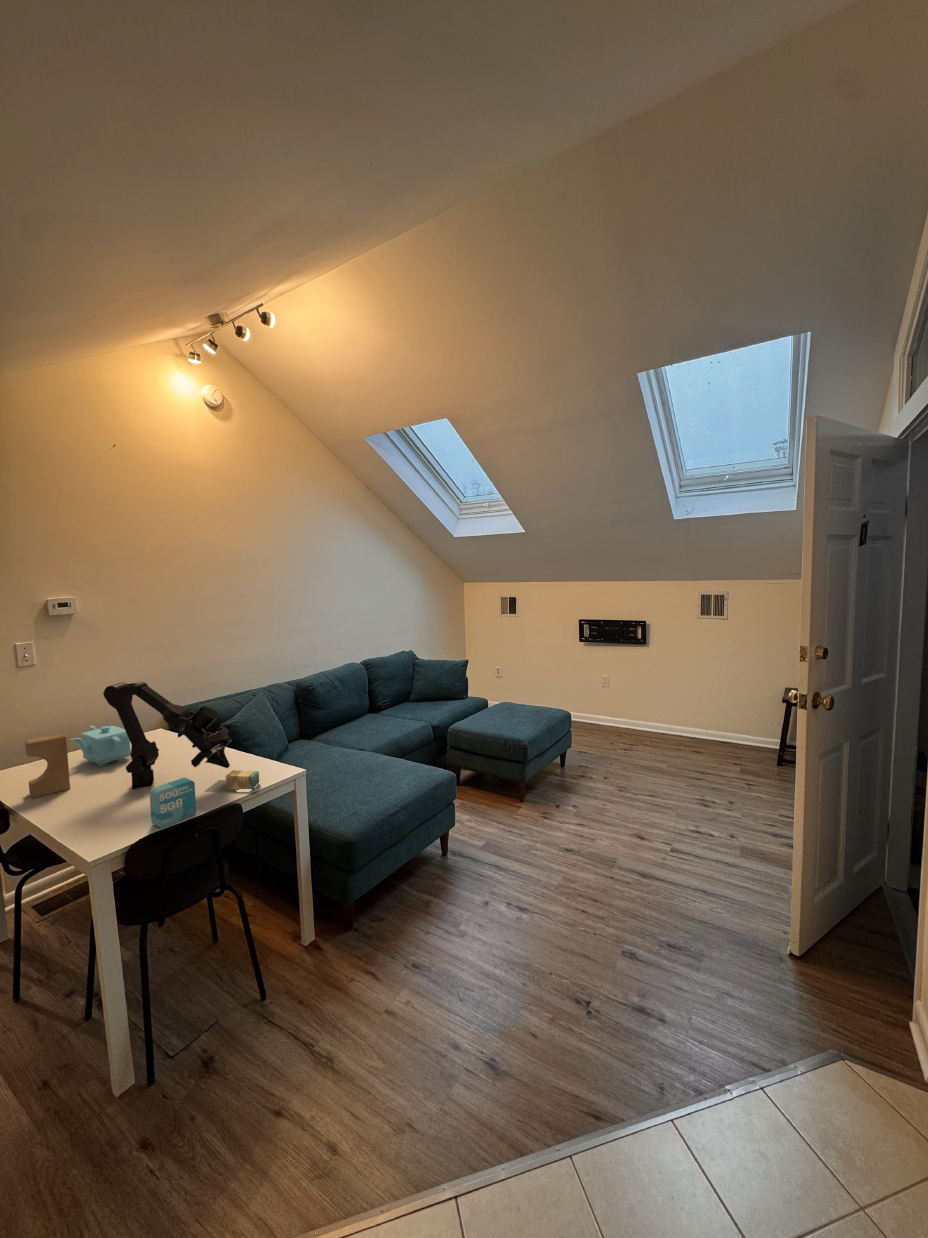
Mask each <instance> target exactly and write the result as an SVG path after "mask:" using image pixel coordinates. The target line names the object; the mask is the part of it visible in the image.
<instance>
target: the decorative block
mask: <svg viewBox="0 0 928 1238" xmlns="http://www.w3.org/2000/svg"><path fill="white" fill-rule="evenodd" d="M24 746H25V747H24V748H25V753H26V755H27V757H28V758H29V757H30V758H31V757H32V758H33V757H37V758H40V759H43V760H44V761H46V763H47V765H46V768H45V770H44V771H43V773H42V774H40V775H39V776H37V778H34V779H32V780H29V781H28V791H29V795H30V798H31V799H36V798H39V797H44V796H48V795H51V794H56V793H60V792H64V791H68V790H70V789H71V784H70V781H71V780H70V770H69V769H70V768H69V755H68V745H67V736H66V735H65V734H64V733H63V732H62V733H56V734H51V735H46V736H40V737H35V738H29V739H25V740H24Z"/></svg>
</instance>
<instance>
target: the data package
mask: <svg viewBox="0 0 928 1238" xmlns="http://www.w3.org/2000/svg"><path fill="white" fill-rule="evenodd" d="M149 804H150V805H149V806H150V819H151V823H152V824H153V825H155V826H157V827H158V828H161V829H162V828H165V827H168V826H170V825H172V824H176V823H177V822H180V821H183V820H186V819H188V818H190V817H192V816H194V815H195V814H196V812H197V801H196V784H195V782H194V781H193V780H191V779H189V778H188V777H181V778H179V779H176V780H172V781H170V782H169V781H168V782H167V783H163V784H160V785H157V786H155V787H153V788H151V790H150V791H149Z"/></svg>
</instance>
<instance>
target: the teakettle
mask: <svg viewBox="0 0 928 1238" xmlns="http://www.w3.org/2000/svg"><path fill="white" fill-rule="evenodd" d="M89 729H90V730H89V731H84V732H81V738H80V737H74V738H70V739H69V741H75V742H76V743H77V744H78V747H79V748H80V751H81V752H82V757H83V759H85V760H87V761H89V764H95V765H97V766H96V767H97V768H102V767H106V766H107V763H111V762H115V761H116V762H123V761H125V760H126V758H128V757H131V742H130V740H129V738H128V735H127V733H126V731H125V729H124V728H122V727H118V726H116V725H106V726H105V725H104V726H101V727H99V728H97V727H96V726H95V725H90V726H89Z"/></svg>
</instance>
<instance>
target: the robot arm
mask: <svg viewBox="0 0 928 1238" xmlns="http://www.w3.org/2000/svg"><path fill="white" fill-rule="evenodd" d="M102 694H103V698H104V699H105V700H106V702H107V703H108V705H109V706H111V707H112V708H114V709H115V710H116V712H117V714H118V716H119V719H120V721H121V724H122V726H123V729H125V731H126V733H127V735H128V738H129V740H130V750H131V756H130V758H131V761H130V762H129V763H128V764H127V765H126V766H125V770H126V772H127V773H128V774H129V773H130V774H131V789H133V790H134V789H140V788H145V787H149V786H150V787H151V786H153V785H154V783H153V782H154V781H155V777H154V769H153V768H152V766H153V765H155V764H156V761H157V760H158V758H159V756H160V755H159V751H160V749H159V748H158V747H157V743H156V741H155V740H154V741H150V740H148V739H147V736H146V735H145V732H144V730H143V728H142V725H141V722H140V720H139V719H138V716H137V714H136V711H135V709H134V707H133V706H134V705H132V703H133V696H136V697H138V699H141V700H142V701H143V702H145V704H147V705H149V706H150V707H151V708H153V710H155V711H157V712H158V713H159V714H160V715H162V719H163V720H164V722H165V723H166V724H167V725H168V726H169V727H171V728H173V729H177V728H178V729H177V738H181V737H183V736H184V737H185V738H186V739H188V741H190V742H191V744H192V745H191V748H193V749H195V748H197V749H198V751H199V752H198V753H197V754H196V755H195V756H194V757H193V758H192V759H191V760H190V761H191V762H190V763H191V766H193V767H194V768H197V767H198V766H200V765H201V762H203V760H205V759H206V761H205V762H204V763H205V764H212V765H216V766H219V767H222V768H226V769H228V768H229V767H231V765H230V763H229V760H228V758H227V756H226V755H227V754H226V753H225V749H226V747H227V746H228V745H229V744H230V743H231V742H232V740H233V738H232V737H231V736H229V734H228V733H229V729H228V728H226V726H224V725H223V726H221V727H218V728H217V731H215V732H214V733H212V732H211V731H208V732H207V731H206V730H207V729H208V728H209V727H210V726H211V725H212V724H213V723H214V722H215V721H216V720H217V719H218V717H219V714H218V713H217V711H216V710H215V709H213V708H211V707H208V706H206V705H205V704H204V705H201V706H200V707H199V709H198V710H197V711H190V710H189V709H188V708H186V707H184V706H181V705H178V704H174V703H172V702H171V701H170V700H168V699H167V698H165V697H164V696H163V695H161V694H160V693H159V692H158V691H156V690H154V689H152V688H151V687H150V686H148V683H146V682H145V681H143V682H142V681H141V682H131V683H126V682H123V681H122V682H118V683H115V684H111V685H108V686H106V687H105V689H104V691H103V692H102ZM182 726H184V727H182ZM179 728H180V729H179Z"/></svg>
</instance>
